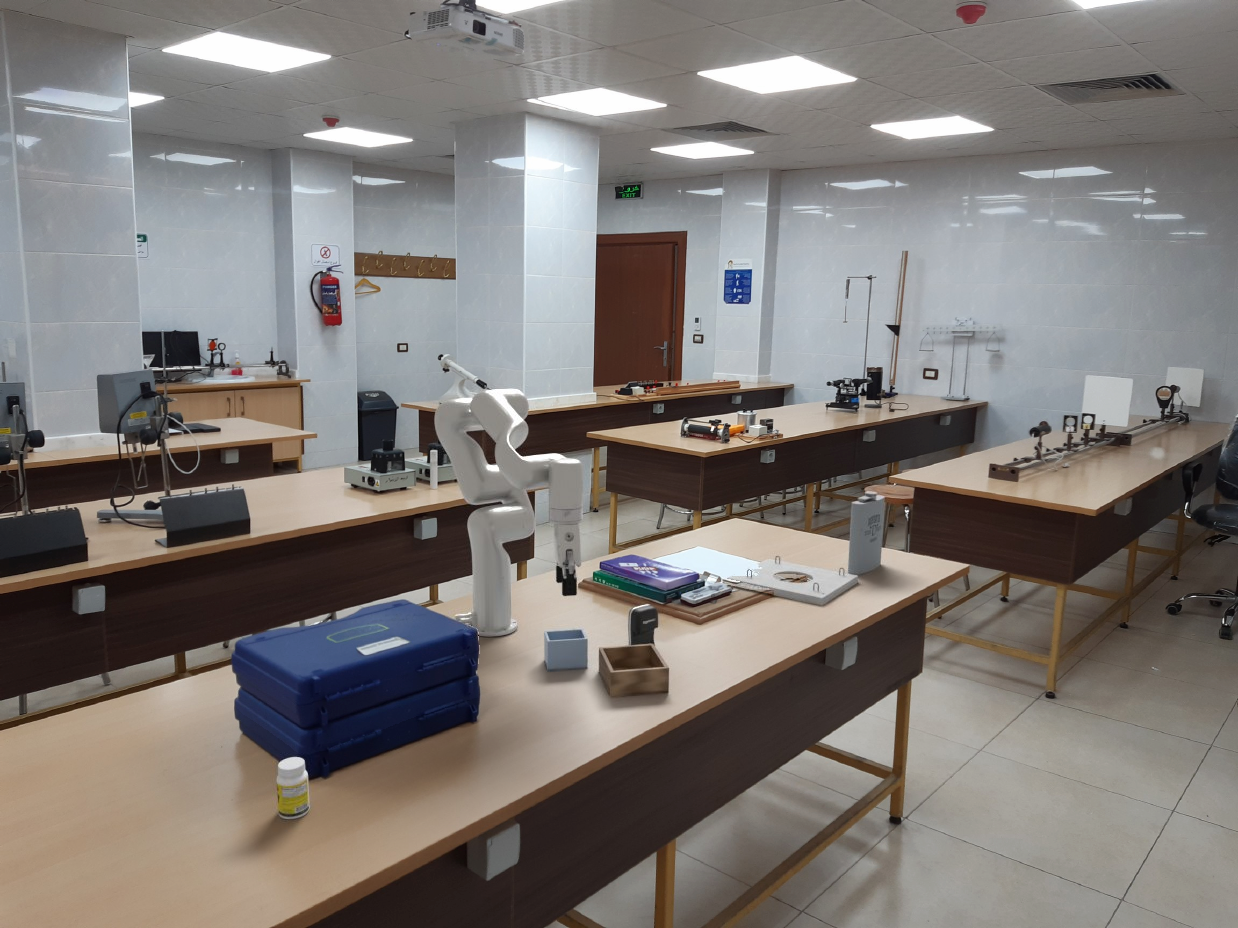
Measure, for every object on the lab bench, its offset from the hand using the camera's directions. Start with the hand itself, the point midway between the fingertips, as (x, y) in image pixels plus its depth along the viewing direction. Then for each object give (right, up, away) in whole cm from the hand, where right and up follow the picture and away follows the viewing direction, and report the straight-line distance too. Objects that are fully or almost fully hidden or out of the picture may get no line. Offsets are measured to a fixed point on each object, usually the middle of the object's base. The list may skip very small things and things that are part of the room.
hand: (566, 588), depth 194 cm
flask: (+91, -6, +81) cm, 122 cm away
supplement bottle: (-40, -28, -56) cm, 74 cm away
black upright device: (+18, -17, +10) cm, 26 cm away
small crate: (0, -18, +3) cm, 18 cm away
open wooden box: (+15, -19, -6) cm, 25 cm away
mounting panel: (+64, -9, +65) cm, 92 cm away
